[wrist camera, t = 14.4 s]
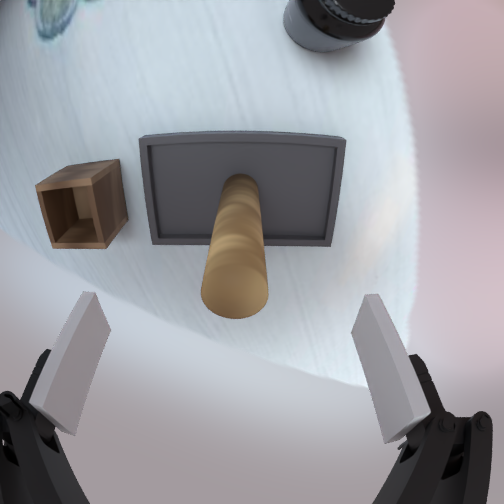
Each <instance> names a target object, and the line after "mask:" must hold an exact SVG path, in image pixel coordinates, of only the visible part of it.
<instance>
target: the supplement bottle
mask: <svg viewBox="0 0 504 504" xmlns="http://www.w3.org/2000/svg"><path fill="white" fill-rule="evenodd" d="M394 5H395V1H394V0H289V2H288V4H287V6H286V8H285V11H284V16H283V20H284V26H285V28H286V31H287V32H288V34H289V35H290V37H291V38H292V39H293V40H294V41H295V42H296V43H298V44H299V45H301V46H302V47H304V48H307V49H309V50H312V51H317V52H329V51H334V50H337V49H340V48H343V47H346V46H349V45H352V44H355V43H358V42H361V41H364V40H367V39H369V38H371V37H373V36H374V35H376V34H377V33H378V32H379V31H380V29H381V28H382V26H383V24H384V22H385V18H386V17H387V16H388V14H390V13H391V11H392V10H393V9H394Z"/></svg>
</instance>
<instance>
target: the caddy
mask: <svg viewBox="0 0 504 504" xmlns="http://www.w3.org/2000/svg"><path fill="white" fill-rule="evenodd" d="M35 187H36V191H37V196H38V200H39V204H40V208H41V211H42V215H43V219H44V222H45V226H46V229H47V232H48V235H49V239H50V242H51V245H52V248H53V249H107V247H108V246H109V245H110V243H111V242H112V241H113V239H114V238H115V237H116V235H117V234H118V233H119V231H120V230H121V229H122V227H123V226H124V225H125V224H126V222H127V221H128V215H127V209H126V203H125V197H124V191H123V184H122V177H121V170H120V162H119V159H114V160H106V161H98V162H90V163H83V164H76V165H70V166H66V167H65V168H63V169H61V170H59V171H58V172H56V173H54V174H53V175H51V176H49V177H48V178H46V179H45V180H43V181H41V182H40V183H38V184H37V185H35Z"/></svg>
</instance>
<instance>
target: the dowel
mask: <svg viewBox="0 0 504 504" xmlns="http://www.w3.org/2000/svg"><path fill="white" fill-rule="evenodd" d="M201 297H202V300H203V302H204V304H205V305H206V307H207V308H208V309H209V310H210V311H212V312H213V313H215V314H217V315H219V316H222V317H225V318H230V319H241V318H246V317H250V316H252V315H254V314H256V313H258V312H259V311H260V310H261V309H262V308H263V307H264V306H265V304H266V302H267V300H268V283H267V273H266V262H265V252H264V242H263V232H262V222H261V212H260V202H259V193H258V186H257V183H256V181H255V180H254V179H253V178H252V177H250V176H249V175H246V174H235V175H232V176H230V177H229V178H228V179H227V180H226V181H225V183H224V185H223V189H222V194H221V198H220V202H219V207H218V211H217V215H216V220H215V224H214V229H213V233H212V238H211V243H210V247H209V252H208V257H207V262H206V267H205V272H204V277H203V282H202V287H201Z"/></svg>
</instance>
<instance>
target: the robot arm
mask: <svg viewBox="0 0 504 504" xmlns="http://www.w3.org/2000/svg"><path fill="white" fill-rule="evenodd" d="M110 331H111V329H110V326H109V324H108V322H107V320H106V318H105V315H104V313H103V310H102V308H101V306H100V303H99V301H98V298H97V296H96V293H95V292H83V293H82V294H81V296H80V298H79V300H78V301H77V303H76V305H75V307H74V308H73V310H72V312H71V314H70V315H69V317H68V319H67V321H66V323H65V325H64V327H63V329H62V331H61V332H60V334H59V336H58V338H57V340H56V342H55V344H54V347H53V348H52V350H49V349H46V350H45V351H44V352H43V354H41V356H40V357H39V359H38V361H37V363H36V367H35V368H34V370H33V372H32V374H31V377H30V379H29V381H28V383H27V385H26V388H25V390H24V393H23V395H22V397H21V399H20V400H19V399H18V398H17V397H16V396H15V395H14V394H13V393H12V392H10V391H5V392H2V393H1V394H0V504H90V503H89V501H88V500H87V498H86V496H85V495H84V492H83V491H82V489H81V487H80V485H79V483H78V481H77V479H76V477H75V475H74V473H73V471H72V469H71V467H70V464H69V462H68V460H67V458H66V455H65V453H64V451H63V448H62V446H61V444H60V441H59V438H58V436H57V434H56V432H55V431H54V430H55V426H56V427H57V428H58V429H59V430H61V431H62V432H65V433H68V434H70V435H73V436H75V434H76V431H77V427H78V424H79V420H80V417H81V413H82V410H83V406H84V403H85V400H86V397H87V394H88V391H89V388H90V385H91V382H92V379H93V376H94V374H95V371H96V368H97V365H98V362H99V360H100V357H101V354H102V352H103V349H104V346H105V344H106V341H107V339H108V336H109V334H110ZM351 334H352V337H353V340H354V343H355V346H356V349H357V352H358V355H359V358H360V361H361V364H362V367H363V370H364V373H365V377H366V380H367V383H368V386H369V390H370V393H371V396H372V400H373V403H374V407H375V410H376V414H377V418H378V421H379V424H380V428H381V432H382V436H383V440H384V443H385V444H386V443H390V442H394V441H397V440H400V439H401V438H402V437H404V436H405V435H406V437H407V440H406V441H405V442H404V443H402V444H401V445H400V446H399V447H398V450H400V449H401V448H402V447H403V448H402V450H401V452H400V455H399V457H398V459H397V461H396V463H395V465H394V467H393V468H392V470H391V472H390V474H389V476H388V478H387V480H386V482H385V483H384V485H383V487H382V488H381V490H380V492H379V494H378V495H377V497H376V499H375V500H374V502H373V503H372V504H486V502H487V496H488V489H489V481H490V472H491V461H492V435H493V434H492V432H493V427H492V426H493V425H492V420H491V417H490V416H489V415H488V414H487V413H486V412H483V411H479V412H477V413H476V414H474V415H473V416H472V417H455V416H454V415H453V414H451V413H450V412H446V411H445V409H444V407H443V405H442V403H441V400H440V398H439V395H438V393H437V390H436V388H435V385H434V383H433V381H432V379H431V376H430V374H429V373H428V369H427V367H426V365H425V363H424V361H423V360H422V359H421V358H420V357H419V356H418V355H417V354H414V355H409V356H408V354H407V352H406V350H405V347H404V345H403V343H402V341H401V339H400V336H399V334H398V332H397V330H396V328H395V326H394V324H393V322H392V320H391V318H390V316H389V314H388V312H387V310H386V308H385V306H384V304H383V302H382V300H381V298H380V296H379V294H369V295H365V296H364V299H363V302H362V305H361V307H360V310H359V313H358V316H357V318H356V321H355V324H354V326H353V329H352V332H351ZM2 439H3V440H4V445H3V443H2Z"/></svg>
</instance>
